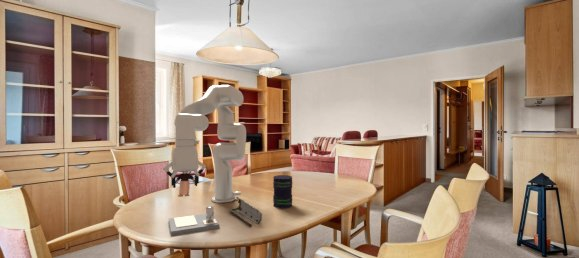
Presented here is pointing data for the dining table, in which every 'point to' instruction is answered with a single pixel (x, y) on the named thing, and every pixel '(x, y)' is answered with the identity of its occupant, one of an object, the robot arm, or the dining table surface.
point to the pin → (209, 214)
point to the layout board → (191, 224)
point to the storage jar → (282, 191)
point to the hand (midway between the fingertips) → (185, 186)
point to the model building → (248, 211)
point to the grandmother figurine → (184, 183)
